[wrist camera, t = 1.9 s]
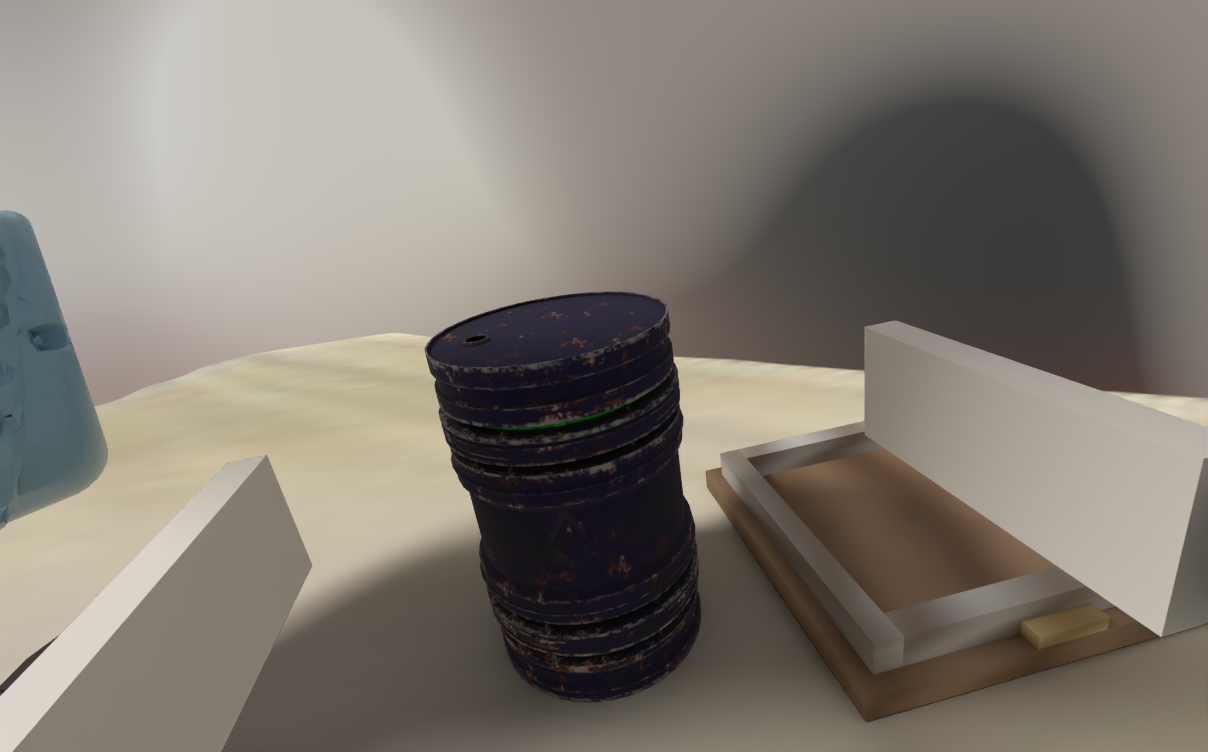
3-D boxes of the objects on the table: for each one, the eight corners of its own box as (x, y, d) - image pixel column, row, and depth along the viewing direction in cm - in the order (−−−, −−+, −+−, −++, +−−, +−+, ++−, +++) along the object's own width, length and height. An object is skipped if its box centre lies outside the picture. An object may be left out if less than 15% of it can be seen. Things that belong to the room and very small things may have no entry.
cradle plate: (866, 721, 21) (867, 668, 20) (707, 486, 37) (703, 450, 36) (1253, 609, 23) (1271, 554, 22) (943, 432, 39) (946, 395, 38)
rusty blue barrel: (662, 529, 33) (629, 280, 28) (742, 658, 24) (716, 325, 19) (494, 579, 31) (424, 321, 26) (513, 739, 22) (413, 394, 17)
